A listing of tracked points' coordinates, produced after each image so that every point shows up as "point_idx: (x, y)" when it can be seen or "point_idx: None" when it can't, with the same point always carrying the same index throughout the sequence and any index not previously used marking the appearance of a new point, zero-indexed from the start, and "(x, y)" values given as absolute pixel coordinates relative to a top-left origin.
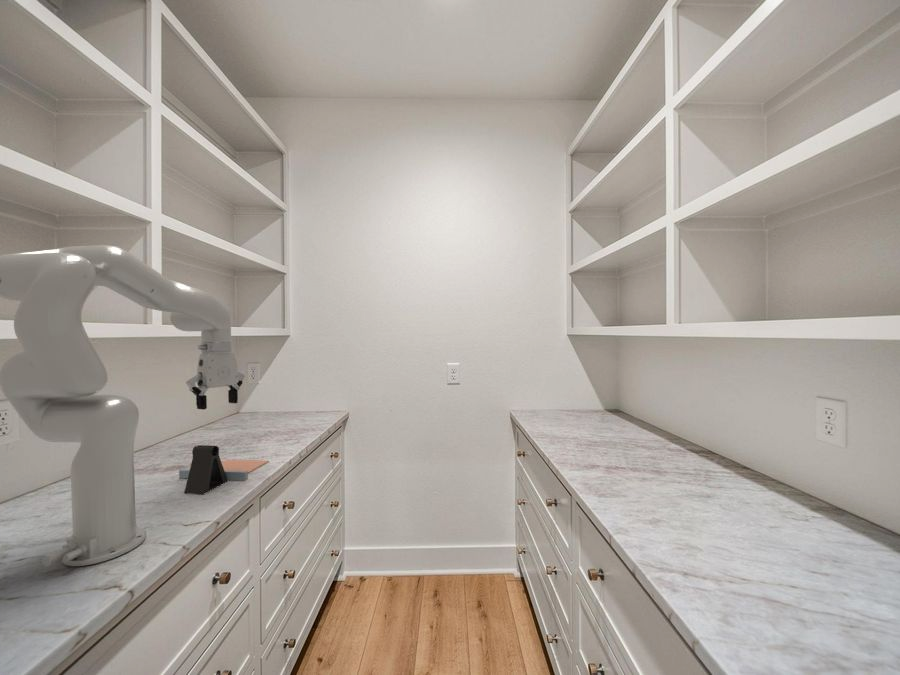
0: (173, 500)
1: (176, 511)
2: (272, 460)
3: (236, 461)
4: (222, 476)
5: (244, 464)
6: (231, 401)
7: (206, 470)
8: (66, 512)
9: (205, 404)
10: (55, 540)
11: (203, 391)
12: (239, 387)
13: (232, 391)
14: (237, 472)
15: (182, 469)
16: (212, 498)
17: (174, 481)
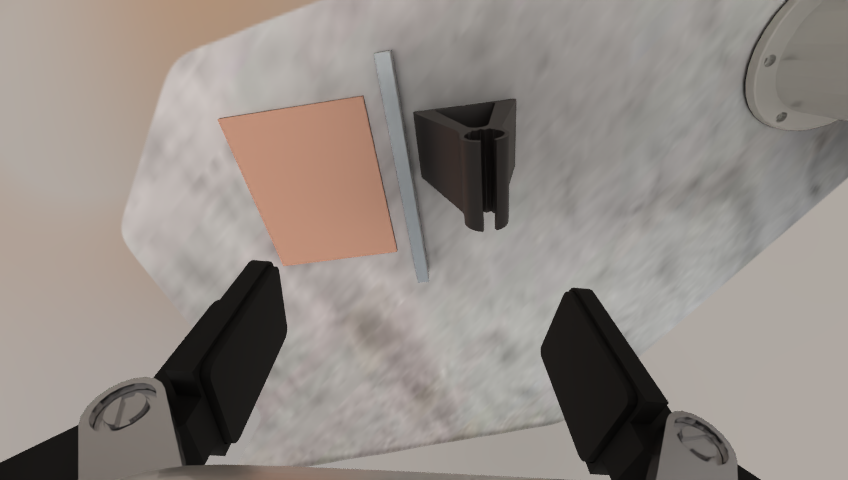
0: (556, 152)
1: (628, 70)
2: (202, 117)
3: (280, 225)
4: (436, 114)
5: (287, 178)
6: (279, 313)
7: (507, 123)
8: (613, 310)
9: (601, 314)
10: (742, 209)
11: (704, 467)
12: (85, 411)
13: (224, 395)
14: (395, 86)
15: (421, 279)
16: (538, 36)
17: (446, 262)
